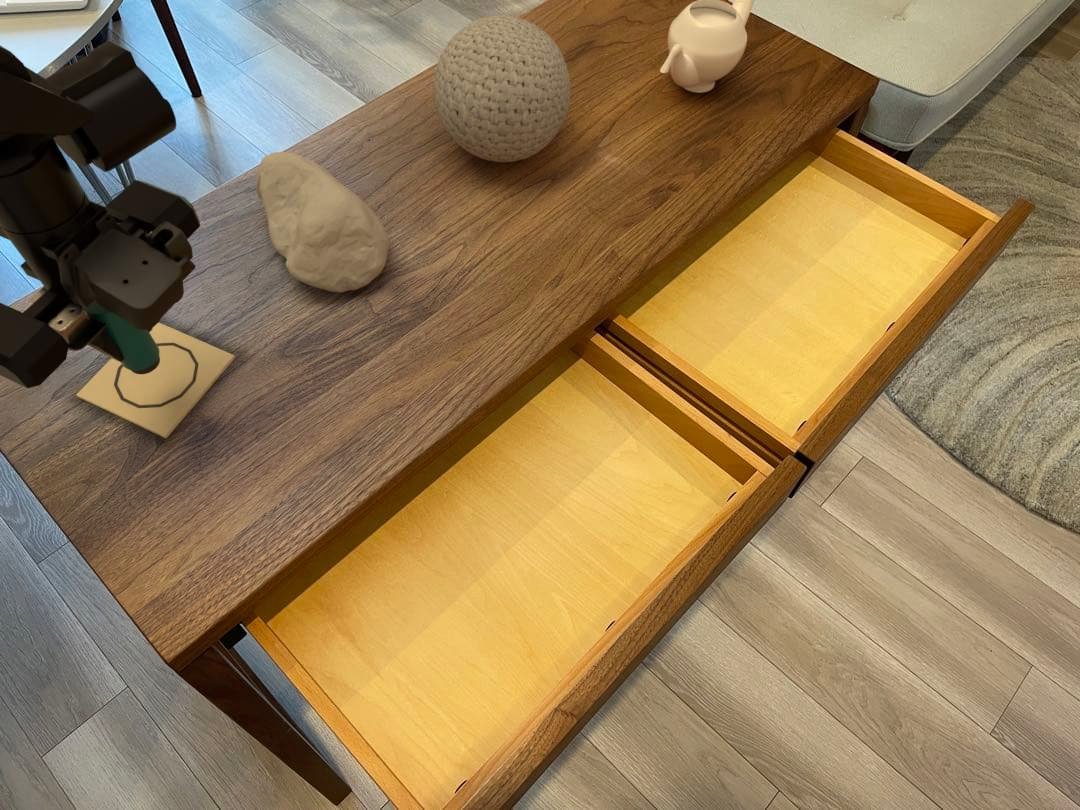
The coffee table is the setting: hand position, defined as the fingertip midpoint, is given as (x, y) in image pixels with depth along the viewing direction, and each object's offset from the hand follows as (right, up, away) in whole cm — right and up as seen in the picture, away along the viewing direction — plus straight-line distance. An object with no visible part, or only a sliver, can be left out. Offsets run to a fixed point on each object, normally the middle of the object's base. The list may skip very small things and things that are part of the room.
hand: (132, 344), depth 66 cm
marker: (0, -1, +2) cm, 3 cm away
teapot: (+55, +36, +35) cm, 74 cm away
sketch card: (-1, -3, +7) cm, 7 cm away
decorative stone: (+11, +12, +17) cm, 23 cm away
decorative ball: (+30, +25, +26) cm, 47 cm away
